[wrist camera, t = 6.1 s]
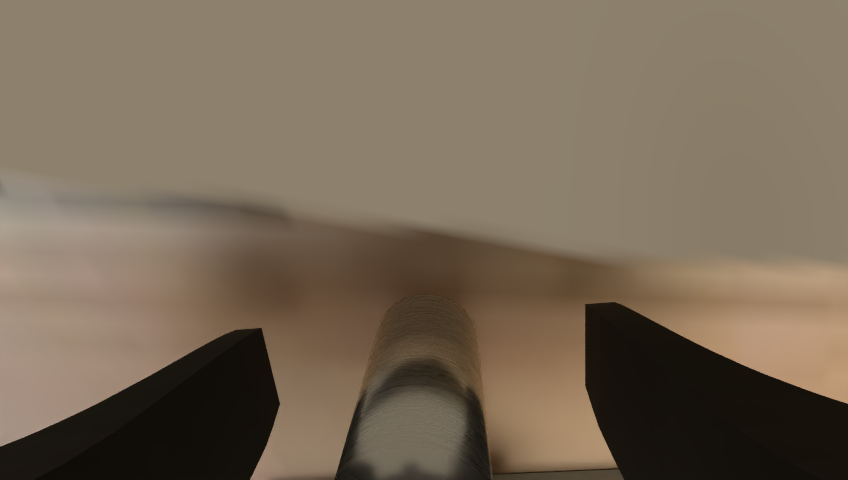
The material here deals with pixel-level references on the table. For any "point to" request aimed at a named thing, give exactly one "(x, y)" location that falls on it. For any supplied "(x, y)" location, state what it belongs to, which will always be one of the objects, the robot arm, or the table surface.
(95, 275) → the table surface
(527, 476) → the tunnel deck
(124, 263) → the table surface
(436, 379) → the sliding block with knob
